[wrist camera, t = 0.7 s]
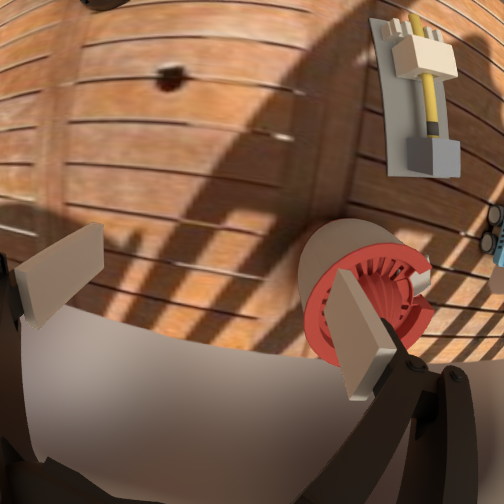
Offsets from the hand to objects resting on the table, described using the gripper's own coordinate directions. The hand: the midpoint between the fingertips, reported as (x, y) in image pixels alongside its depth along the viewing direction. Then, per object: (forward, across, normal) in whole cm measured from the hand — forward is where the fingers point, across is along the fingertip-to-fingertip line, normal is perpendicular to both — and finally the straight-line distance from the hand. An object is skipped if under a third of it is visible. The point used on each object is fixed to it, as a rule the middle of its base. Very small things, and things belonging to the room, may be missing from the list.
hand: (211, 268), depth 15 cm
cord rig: (+27, +22, +21) cm, 41 cm away
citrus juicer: (+27, +17, -6) cm, 33 cm away
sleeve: (+26, +21, +26) cm, 42 cm away
